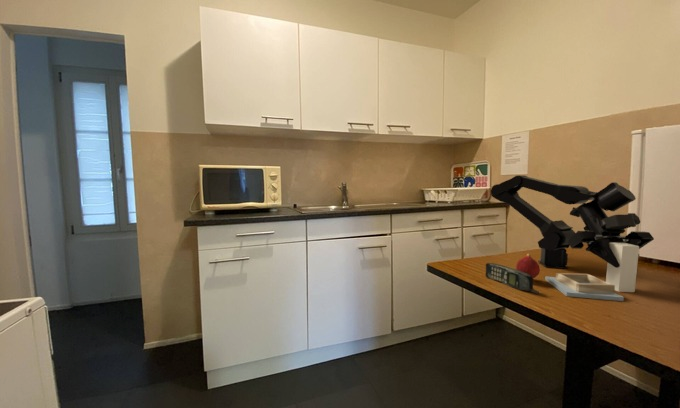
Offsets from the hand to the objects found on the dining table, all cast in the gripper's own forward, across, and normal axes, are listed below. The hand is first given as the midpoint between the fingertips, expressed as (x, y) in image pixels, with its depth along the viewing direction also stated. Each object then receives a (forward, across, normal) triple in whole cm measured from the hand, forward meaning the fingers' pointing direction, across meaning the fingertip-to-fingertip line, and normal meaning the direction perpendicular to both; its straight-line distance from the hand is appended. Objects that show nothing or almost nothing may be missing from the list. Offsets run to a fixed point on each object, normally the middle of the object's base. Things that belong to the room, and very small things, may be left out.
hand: (626, 267), depth 74 cm
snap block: (+4, 0, +6) cm, 7 cm away
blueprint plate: (+4, -11, +5) cm, 13 cm away
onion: (0, -22, +9) cm, 23 cm away
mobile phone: (+3, -28, +7) cm, 29 cm away
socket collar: (+4, -10, +5) cm, 12 cm away
